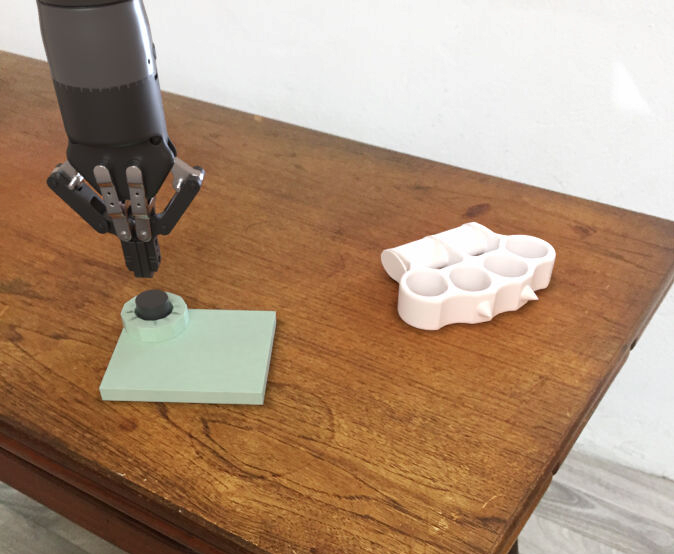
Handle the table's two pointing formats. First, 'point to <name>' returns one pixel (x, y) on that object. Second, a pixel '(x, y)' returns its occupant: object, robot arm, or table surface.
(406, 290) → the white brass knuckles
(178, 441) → the table surface
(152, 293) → the button
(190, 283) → the table surface
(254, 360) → the scale
